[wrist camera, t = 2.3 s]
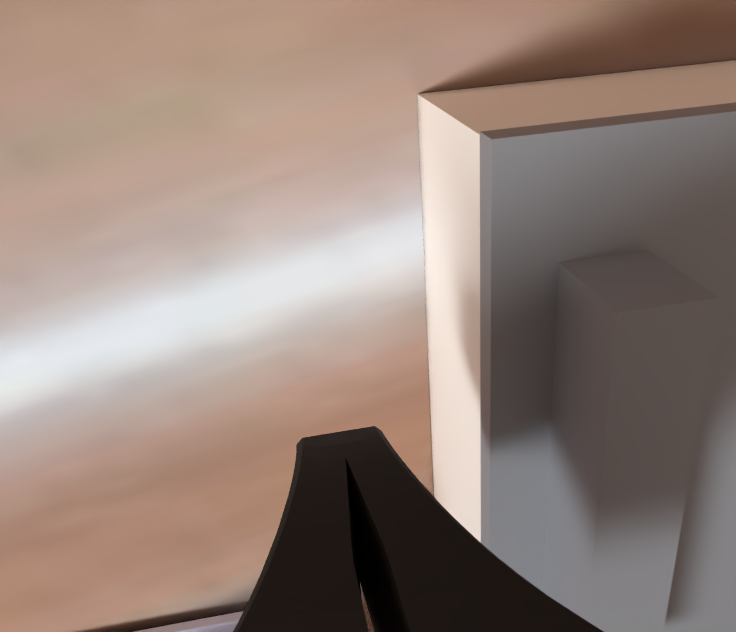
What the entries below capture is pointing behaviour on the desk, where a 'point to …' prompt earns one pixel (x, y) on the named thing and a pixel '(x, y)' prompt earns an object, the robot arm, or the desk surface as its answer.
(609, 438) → the sliding lid
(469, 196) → the white box
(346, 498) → the robot arm
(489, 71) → the desk surface
